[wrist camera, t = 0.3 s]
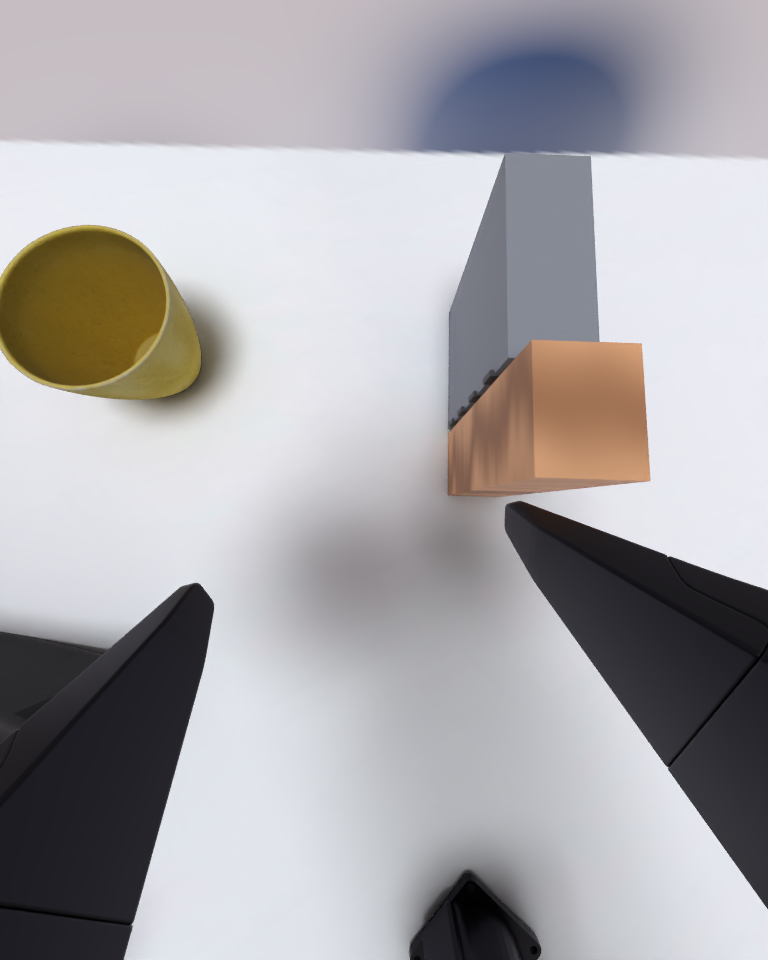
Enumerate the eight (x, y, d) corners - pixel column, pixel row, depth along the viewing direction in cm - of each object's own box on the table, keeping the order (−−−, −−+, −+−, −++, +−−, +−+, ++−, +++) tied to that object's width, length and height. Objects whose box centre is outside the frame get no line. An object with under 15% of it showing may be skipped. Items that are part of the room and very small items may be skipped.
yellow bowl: (200, 444, 23) (120, 415, 16) (86, 399, 23) (-44, 351, 16) (252, 333, 24) (197, 259, 17) (141, 291, 24) (42, 201, 17)
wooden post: (498, 496, 23) (650, 480, 10) (447, 495, 23) (534, 477, 10) (497, 435, 23) (642, 343, 10) (448, 433, 23) (531, 339, 10)
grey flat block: (500, 431, 23) (604, 363, 12) (445, 429, 23) (503, 359, 12) (498, 314, 24) (594, 156, 13) (446, 312, 24) (501, 152, 13)
